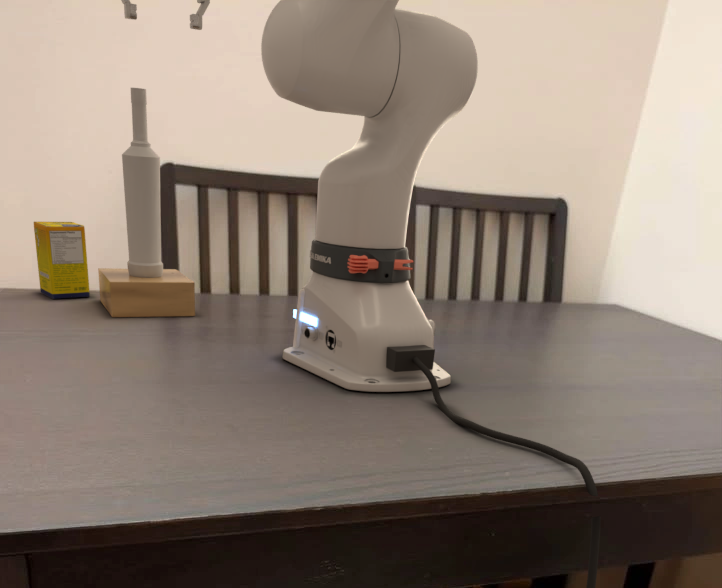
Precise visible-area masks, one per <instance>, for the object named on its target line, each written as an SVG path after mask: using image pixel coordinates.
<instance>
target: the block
mask: <svg viewBox="0 0 722 588" xmlns="http://www.w3.org/2000/svg"><path fill="white" fill-rule="evenodd" d="M97 271H98V287H99V301H100V302H101V304H102V305H103V306H104V308H105V310H107V312H108V313H109V315H110V317H112V318H151V317H152V318H153V317H154V318H156V317H157V318H158V317H161V318H162V317H195V316H196V295H195V293H196V292H195V291H196V289H195V287H196V285H195V282H194V281H193V280H192V279H191V278H189V277H188V276H186V275H185V274H183V273H182V272H181V271H180V270H179V269H177V268H176V269H175V268H163V274H162V276H161V277H155V278H143V277H134V276H131V275H129V272H128V268H111V267H110V268H106V267H105V268H103V267H101V268H98V269H97Z"/></svg>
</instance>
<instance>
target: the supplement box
mask: <svg viewBox="0 0 722 588" xmlns="http://www.w3.org/2000/svg"><path fill="white" fill-rule="evenodd" d="M33 233H34V242H35V251H36V261H37V271H38V279H39V280H38V281H39V289H40V294H42V295H44V296H46V297H48V298H50V299H52V300H56V299H69V298H70V299H72V298H90V297H91V294H90V279H89V268H88V254H87V242H86V241H87V240H86V228H85V225H84V224H81V223H76V222H74V221H33Z"/></svg>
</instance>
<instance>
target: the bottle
mask: <svg viewBox="0 0 722 588" xmlns="http://www.w3.org/2000/svg"><path fill="white" fill-rule="evenodd" d="M130 103H131V123H132V141H130V146H129V147H128V148H127V149H126V150H125V151H124V152H123V153H122V154H121V161H122V173H123V174H122V177H123V178H122V179H123V192H124V204H125V205H124V207H125V220H126V231H127V232H126V235H127V248H128V261H127V269H128V272H129V275H131V276H134V277H143V278H155V277H161V276H162V274H163V269H164V263H163V262H162V225H161V223H162V222H161V220H162V219H161V211H162V210H161V157H160V156H159V155H158V154H157V152H155V150H154V149H153V148H152V147H151V143H150V142H149V139H148V116H147V113H148V112H147V105H148V104H147V103H148V102H147V89H146V88H140V87H130Z"/></svg>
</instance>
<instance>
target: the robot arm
mask: <svg viewBox="0 0 722 588" xmlns="http://www.w3.org/2000/svg"><path fill="white" fill-rule="evenodd" d="M120 1H121V3H122V4H123V11H124V14H123V15H124V19H126V20H133V21H136V20H137V19H138V12H137V10H138V5H137V4H136V3H132V2H131V1H130V0H120ZM399 1H400V0H279V1H278V2H277V3H276V4H275V6H274V7H273V8H272V10H271V12H270V14H269V15H268V16H267V19H266V22H265V24H264V27H263V31H262V36H261V43H260V44H261V45H260V47H261V48H260V51H261V62H262V67H263V71H264V74H265V76H266V79H267V81H268V83H269V84H270V86H271V88H272V90H273V91H274V93H275V94H276V95H277V96H278V97H279V98H281V99H284V100H286V101H289V102H290V103H294V104H296V105H299V106H302V107H305V108H306V109H307V108H308V109H310V110H314V111H317V112H324V113H330V114H331V113H332V114H341V115H348V116H349V115H350V116H358V117H363V124H362V128H361V132H360V134H359V137H358V139H357V141H356V142H355V143H354V145H353V146H352V147H351V148H350V149H348V150H345V151H344V152H342V153H340V154H338V155H337V156H335V157H333V158H332V159H330V160H329V161H328V162H327V164H326V165H325V166H324V167H323V169H322V170H321V173H320V174H319V177H318V181H317V196H316V197H317V198H316V199H317V200H316V216H315V233H314V235H315V238H313V240H311V245H310V247H311V248H310V250H309V258H310V259H309V269H310V270H311V271H312V272H311V275H310V276H309V279H308V281H307V282H306V283H305V285H304V286H303V287H302V288H301V289H300V290H299V292H298V296H297V303H296V304H297V305H296V309H293V311H292V313H293V315H292V318H294V319H295V322H294V332H293V341H292V346H289V347H286V348H285V349H283V350H282V359H283V360H285V361H287V362H289V363H291V364H293V365H295V366H297V367H300V368H301V369H304V370H306V371H307V372H310V373H311V374H314V375H316V376H318V377H320V378H323V379H324V380H327V381H328V382H330V383H333V384H334V385H336V386H339V387H341V388H342V389H343V388H344V389H346V390H350V391H359V392H370V393H371V392H372V393H375V392H376V393H392V392H393V393H395V392H396V393H398V392H415V391H423V390H431V392H432V396H433V399H434V402H435V403H436V405H437V407H438V408H439V410H440V411H441V412H442V413H443V414H444V415H445V416H447V417H448V418H449V419H450V420H451V421H453V422H454V423H456V424H457V425H459V426H462V427H465V428H467V429H470V430H472V431H474V432H476V433H477V434H482V435H484V436H486V437H489V438H492V439H495V440H499V441H502V442H505V443H509V444H513V445H517V446H521V447H524V448H528V449H531V450H534V451H537V452H539V453H543V454H545V455H547V456H550V457H552V458H554V459H557V460H558V461H560V462H562V463H565V464H567V465H570V466H572V467H574V468H576V469H577V470H578V471H579V473H580V475H581V477H582V479H583V482H584V484H585V488H586V490H587V493H588V494H589V495H590V496H592V497H599V493H598V490H597V486H596V483H595V480H594V478H593V475H592V473H591V471H590V470H589V467H588V466H587V465H586V464H585V463H584V462H583V461H582V460H581V459H579V458H577V457H575V456H571V455H570V454H566V453H564V452H562V451H561V450H557V449H555V448H554V447H552V446H549V445H546V444H544V443H540V442H537V441H534V440H531V439H527V438H524V437H520V436H516V435H513V434H512V435H511V434H509V433H504V432H501V431H497V430H495V429H492V428H488V427H486V426H483V425H481V424H479V423H476V422H475V421H472V420H470V419H467V418H464V417H461V416H459V415H457V414H455V413H454V412H452V411H451V410H450V409H449V407H448V406H447V405H446V403H445V402H444V400H443V398H442V396H441V394H440V389H439V388H443V387H445V386H448V385H450V384H451V381H452V378H451V375H450V374H449V373H448V372H447V371H446V370H445V369H443V368H442V367H441V366H440V365H438V363H436V362H435V353H436V349H435V347H434V346H435V334H436V323H435V321H434V320H432V319H428V317H427V316H426V314H425V312H424V310H423V308H422V306H421V305H420V303H419V301H418V299H417V297H416V295H415V294H414V291H413V290H412V288H411V285H410V279H411V271H413V269H414V268H413V267H411V263H412V264H413V263H414V260H413V259H410V257H409V249H408V247H407V246H406V240H407V230H408V225H409V216H410V215H409V214H410V209H411V201H412V195H413V189H414V184H415V180H416V176H417V173H418V170H419V168H420V165H421V163H422V161H423V158H424V157H425V154H426V152H427V151H428V148H429V147H430V145H431V144H432V142H433V140H434V139H435V137H436V136H437V135H438V133H439V132H440V131H441V130H442V129H443V127H445V126H446V124H448V123H449V122H450V121H451V120H453V119H454V118H456V117H457V116H458V115H459V114H460V113H461V112H462V111H463V110H464V109H465V107H466V106H467V104H469V101H470V100H471V98H472V96H473V93H474V91H475V88H476V85H477V81H478V76H479V75H478V74H479V61H478V59H479V58H478V53H477V49H476V46H475V45H476V44H475V42H474V40H473V39H472V37H471V35H470V34H469V33H468V32H466V31H465V30H463V29H461V28H460V27H458V26H457V25H454V24H453V23H451V22H448V21H446V20H445V19H443V18H441V17H438V16H436V15H433V14H429V13H425V12H419V11H415V10H408V9H403V8H398V7H397V5H398V3H399ZM196 3H197V4H200V5H199V7H198V9H197V11H196V13H191V14H189V22H190V23H189V28H190V29H191V30H195V31H196V30H197V31H202V29H203V17H204V14H205V13H206V11H207V9H208V8H209V6H210V3H211V0H196ZM601 519H602V517H601V515H595V516H591V519H590V521H591V524H590V538H589V539H590V540H589V541H590V542H589V555H588V566H587V569H588V570H587V576H586V577H587V579H586V587H585V588H596V587H597V586H596V584H597V577H598V564H599V554H600V553H599V552H600V537H601V523H602V522H601Z"/></svg>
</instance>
